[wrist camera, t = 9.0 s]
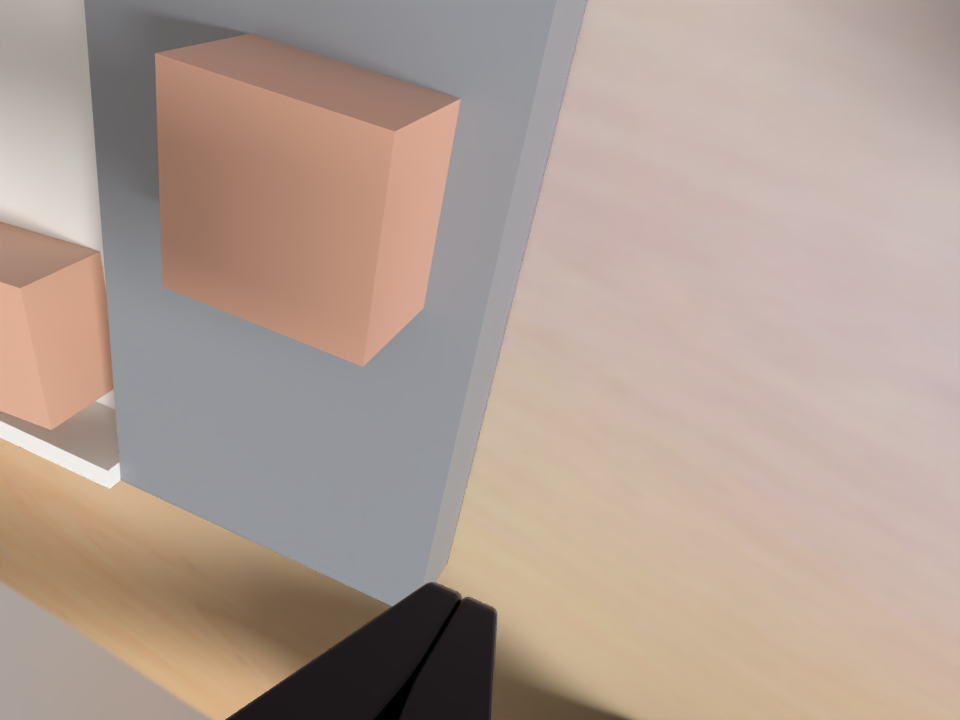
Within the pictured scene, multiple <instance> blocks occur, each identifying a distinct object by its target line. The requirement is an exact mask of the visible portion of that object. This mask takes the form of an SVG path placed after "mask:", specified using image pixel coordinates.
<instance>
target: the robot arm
mask: <svg viewBox="0 0 960 720" xmlns="http://www.w3.org/2000/svg"><path fill="white" fill-rule="evenodd" d="M496 632H497V612H496V610H495V608H493V607H492V606H489V605H487V604H485V603H482V602H480V601H478V600H475V599H473V598H471V597H465V598H464V599H462V596H461V594H460V593H458V592H457V591H454V590H452V589H450V588H447V587H445V586H443V585H440V584H438V583H435V582H429V583H426V584H425V585H423V586H422V587H420V588H419V589H417V590H416V591H414V592H413V593H411V594H410V595H408V596H407V597H405V598H404V599H402V600H401V601H399V602H398V603H396V604H395V605H394V606H392V607H391V608H389V609H388V610H386V611H385V612H383V613H382V614H380V615H379V616H377V617H376V618H374V619H373V620H371V621H370V622H368V623H367V624H366V625H364V626H363V627H361V628H360V629H358V630H357V631H355V632H354V633H352V634H351V635H349V636H348V637H346V638H345V639H343V640H342V641H340V642H339V643H337V644H336V645H335V646H333V647H332V648H330V649H329V650H327V651H326V652H324V653H323V654H321V655H320V656H318V657H317V658H315V659H314V660H312V661H311V662H309V663H308V664H307V665H305V666H304V667H302V668H301V669H299V670H298V671H296V672H295V673H293V674H292V675H290V676H289V677H287V678H286V679H284V680H283V681H281V682H280V683H278V684H277V685H276V686H274V687H273V688H271V689H270V690H268V691H267V692H265V693H264V694H262V695H261V696H259V697H258V698H256V699H255V700H253V701H252V702H250V703H249V704H248V705H246V706H245V707H243V708H242V709H240V710H239V711H237V712H236V713H234V714H233V715H231V716H230V717H228V718H227V719H225V720H492V715H493V694H494V674H495V653H496Z"/></svg>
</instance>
